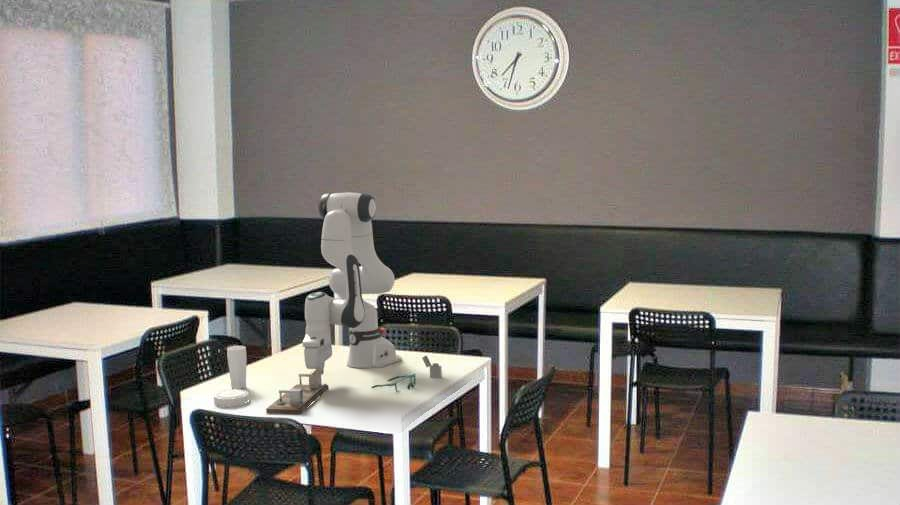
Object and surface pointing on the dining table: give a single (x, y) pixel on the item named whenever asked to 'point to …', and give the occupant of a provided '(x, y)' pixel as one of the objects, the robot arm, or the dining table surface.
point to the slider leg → (312, 379)
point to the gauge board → (286, 408)
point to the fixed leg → (299, 396)
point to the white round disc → (231, 398)
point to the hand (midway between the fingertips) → (320, 374)
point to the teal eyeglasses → (398, 381)
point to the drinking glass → (237, 366)
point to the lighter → (433, 368)
